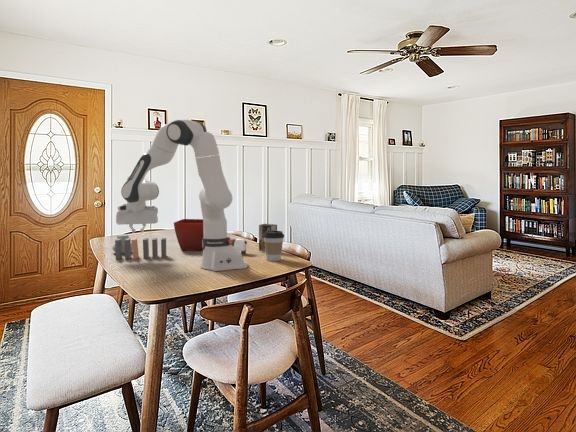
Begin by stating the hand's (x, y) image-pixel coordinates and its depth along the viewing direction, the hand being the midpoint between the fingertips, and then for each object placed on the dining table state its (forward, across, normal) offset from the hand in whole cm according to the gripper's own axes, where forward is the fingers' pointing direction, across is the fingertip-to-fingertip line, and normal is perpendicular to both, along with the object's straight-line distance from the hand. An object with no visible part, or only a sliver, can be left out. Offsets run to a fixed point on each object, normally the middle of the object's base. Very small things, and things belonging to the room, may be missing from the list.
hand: (138, 232), depth 190 cm
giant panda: (+15, -51, -3) cm, 53 cm away
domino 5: (+14, -8, 0) cm, 16 cm away
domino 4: (+14, -4, 0) cm, 14 cm away
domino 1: (+13, +10, +1) cm, 17 cm away
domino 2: (+13, +5, +1) cm, 14 cm away
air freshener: (+14, +11, -14) cm, 22 cm away
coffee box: (+15, -70, -6) cm, 72 cm away
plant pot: (+14, -27, -21) cm, 38 cm away
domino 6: (+14, -13, 0) cm, 19 cm away
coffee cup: (+15, -70, +16) cm, 73 cm away
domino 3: (+13, +2, +1) cm, 14 cm away
